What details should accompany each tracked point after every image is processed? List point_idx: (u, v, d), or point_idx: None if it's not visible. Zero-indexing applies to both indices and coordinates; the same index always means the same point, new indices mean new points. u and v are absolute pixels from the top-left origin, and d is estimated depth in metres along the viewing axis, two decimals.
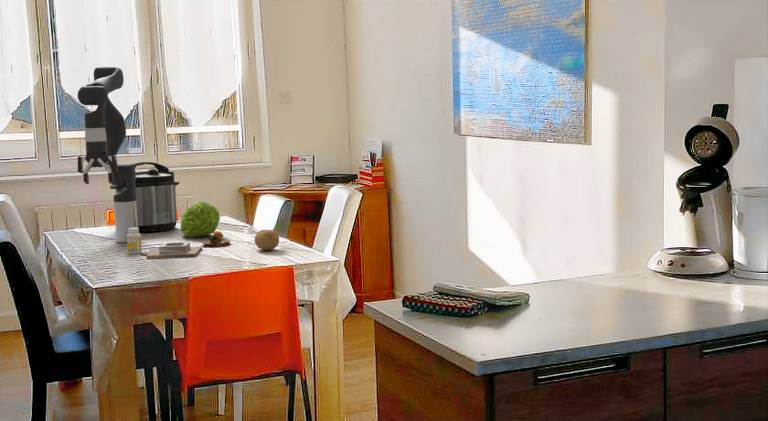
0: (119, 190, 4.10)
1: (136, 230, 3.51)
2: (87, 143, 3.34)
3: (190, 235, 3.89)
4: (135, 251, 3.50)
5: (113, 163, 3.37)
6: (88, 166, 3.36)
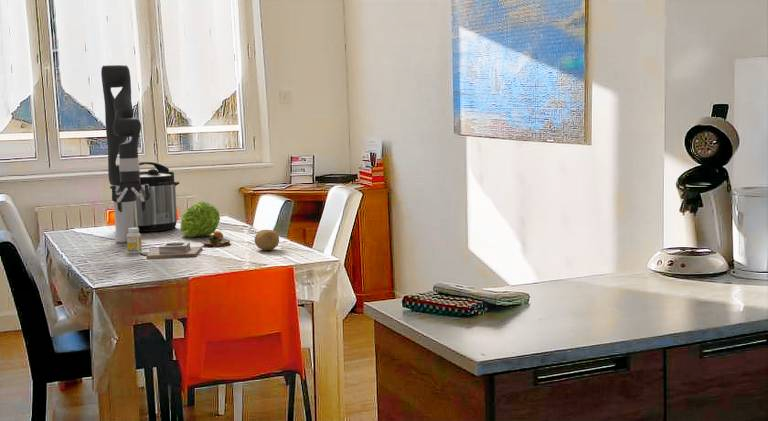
0: (119, 190, 4.10)
1: (136, 230, 3.51)
2: (121, 173, 3.47)
3: (190, 235, 3.89)
4: (135, 251, 3.50)
5: (146, 192, 3.49)
6: (122, 195, 3.49)
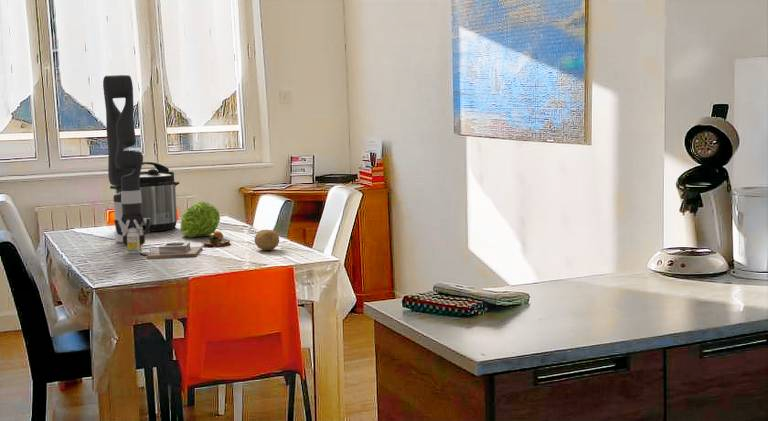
0: (119, 190, 4.10)
1: (136, 230, 3.51)
2: (123, 205, 3.48)
3: (190, 235, 3.89)
4: (135, 251, 3.50)
5: (146, 226, 3.51)
6: (126, 228, 3.50)
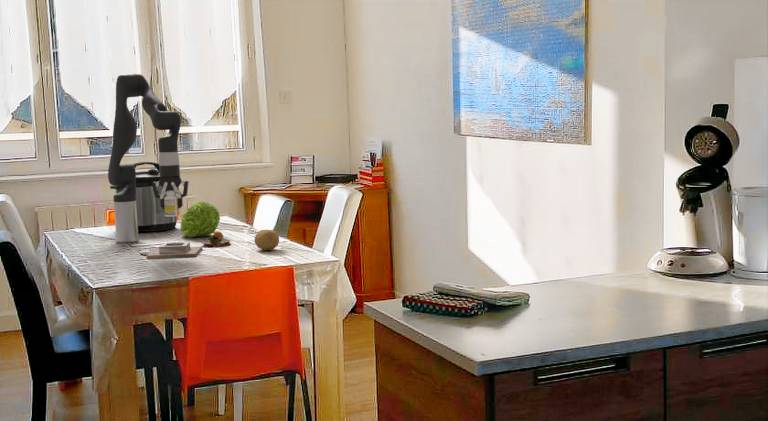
0: (119, 190, 4.10)
1: (174, 193, 3.42)
2: (161, 167, 3.39)
3: (190, 235, 3.89)
4: (173, 214, 3.42)
5: (184, 188, 3.42)
6: (163, 190, 3.41)
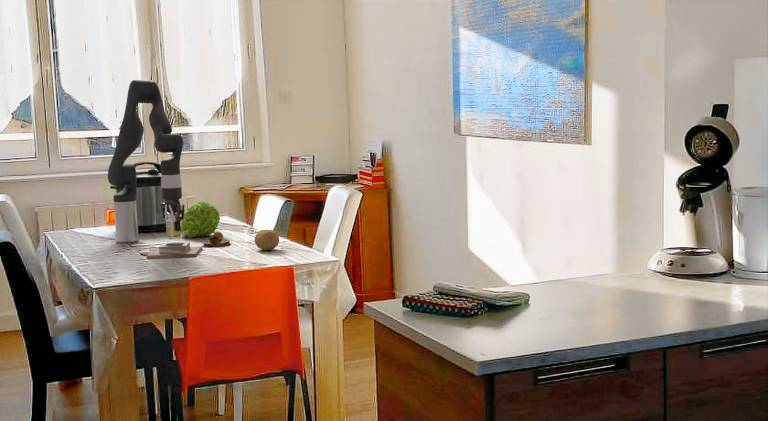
0: (119, 190, 4.10)
1: (171, 215, 3.42)
2: None
3: (190, 235, 3.89)
4: (169, 237, 3.43)
5: (177, 212, 3.39)
6: (165, 212, 3.45)
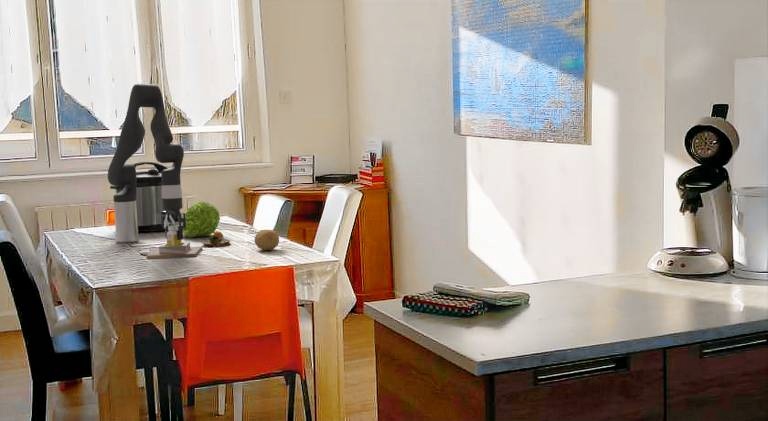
0: (119, 190, 4.10)
1: (172, 228, 3.43)
2: None
3: (190, 235, 3.89)
4: None
5: (178, 221, 3.39)
6: (165, 221, 3.46)
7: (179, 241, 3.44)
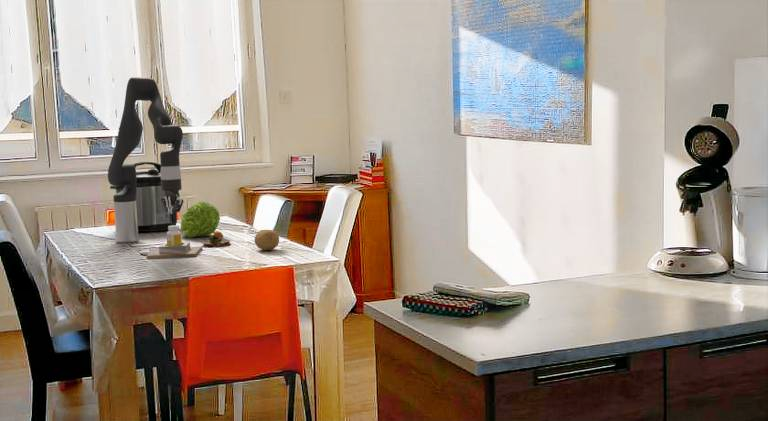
0: (119, 190, 4.10)
1: (172, 228, 3.43)
2: None
3: (190, 235, 3.89)
4: None
5: (175, 205, 3.40)
6: (167, 204, 3.43)
7: (179, 241, 3.44)
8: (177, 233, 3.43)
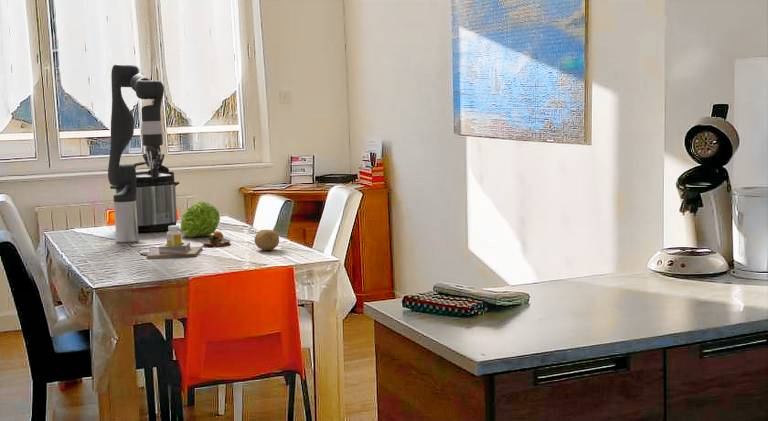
0: (119, 190, 4.10)
1: (172, 228, 3.43)
2: None
3: (190, 235, 3.89)
4: None
5: (156, 160, 3.43)
6: (148, 159, 3.46)
7: (179, 241, 3.44)
8: (177, 233, 3.43)
